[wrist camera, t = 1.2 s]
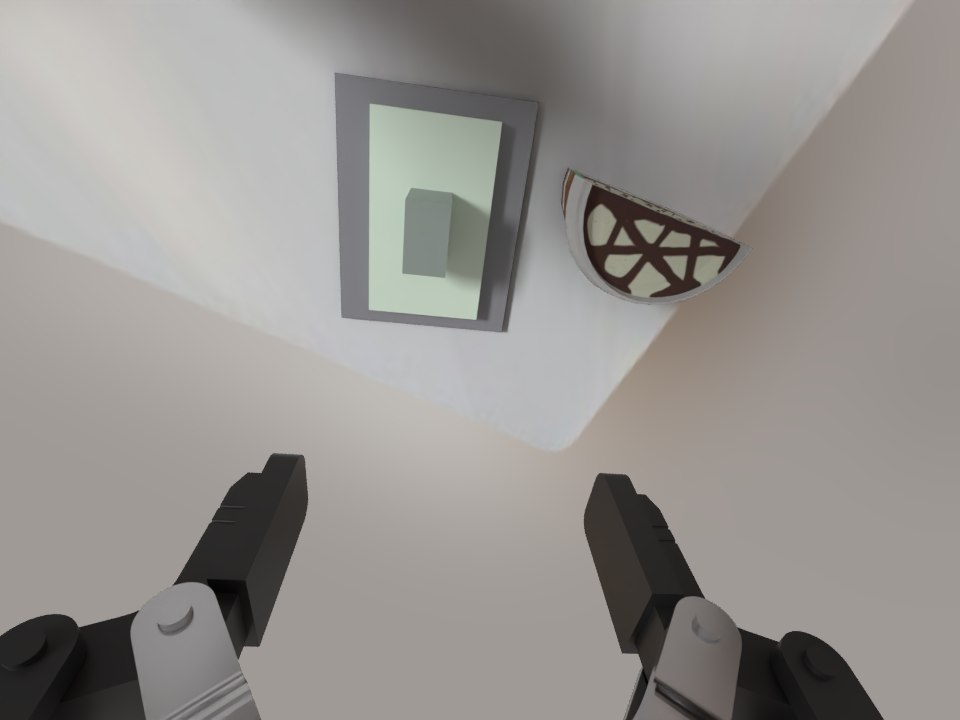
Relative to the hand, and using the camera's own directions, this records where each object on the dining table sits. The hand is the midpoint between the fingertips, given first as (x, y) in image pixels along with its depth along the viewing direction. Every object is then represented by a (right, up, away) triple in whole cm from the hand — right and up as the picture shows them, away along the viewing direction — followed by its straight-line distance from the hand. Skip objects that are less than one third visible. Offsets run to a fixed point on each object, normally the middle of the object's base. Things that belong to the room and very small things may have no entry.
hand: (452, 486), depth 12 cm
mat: (-3, +15, +23) cm, 28 cm away
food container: (+11, +14, +25) cm, 30 cm away
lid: (-3, +14, +23) cm, 27 cm away
